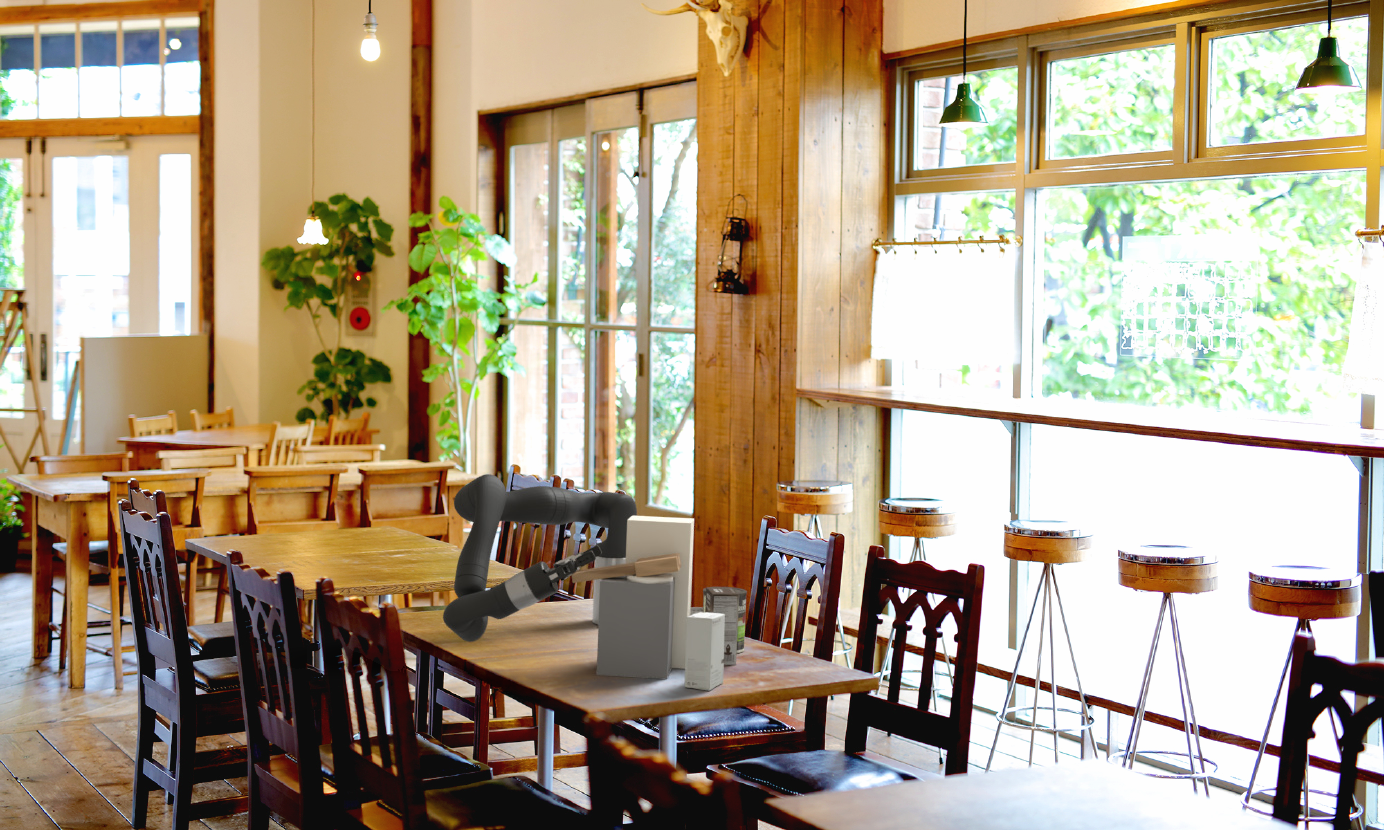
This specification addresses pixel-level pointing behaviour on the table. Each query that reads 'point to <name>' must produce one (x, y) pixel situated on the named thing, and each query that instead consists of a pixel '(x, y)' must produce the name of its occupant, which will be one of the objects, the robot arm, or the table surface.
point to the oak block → (632, 568)
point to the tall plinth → (665, 539)
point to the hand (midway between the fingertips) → (597, 551)
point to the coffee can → (741, 617)
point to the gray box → (636, 626)
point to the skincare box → (704, 650)
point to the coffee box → (728, 604)
